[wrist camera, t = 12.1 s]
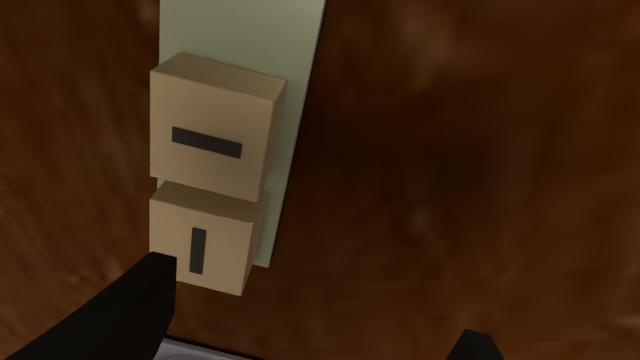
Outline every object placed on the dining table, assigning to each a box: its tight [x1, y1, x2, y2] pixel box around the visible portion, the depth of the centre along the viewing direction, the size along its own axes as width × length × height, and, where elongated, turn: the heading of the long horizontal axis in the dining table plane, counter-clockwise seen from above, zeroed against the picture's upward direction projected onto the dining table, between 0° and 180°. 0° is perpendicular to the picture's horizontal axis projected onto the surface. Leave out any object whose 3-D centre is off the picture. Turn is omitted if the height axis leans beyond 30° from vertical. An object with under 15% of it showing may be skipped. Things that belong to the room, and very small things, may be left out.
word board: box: [150, 0, 327, 296], centre depth 17 cm, size 16×6×3 cm, turn 167°
